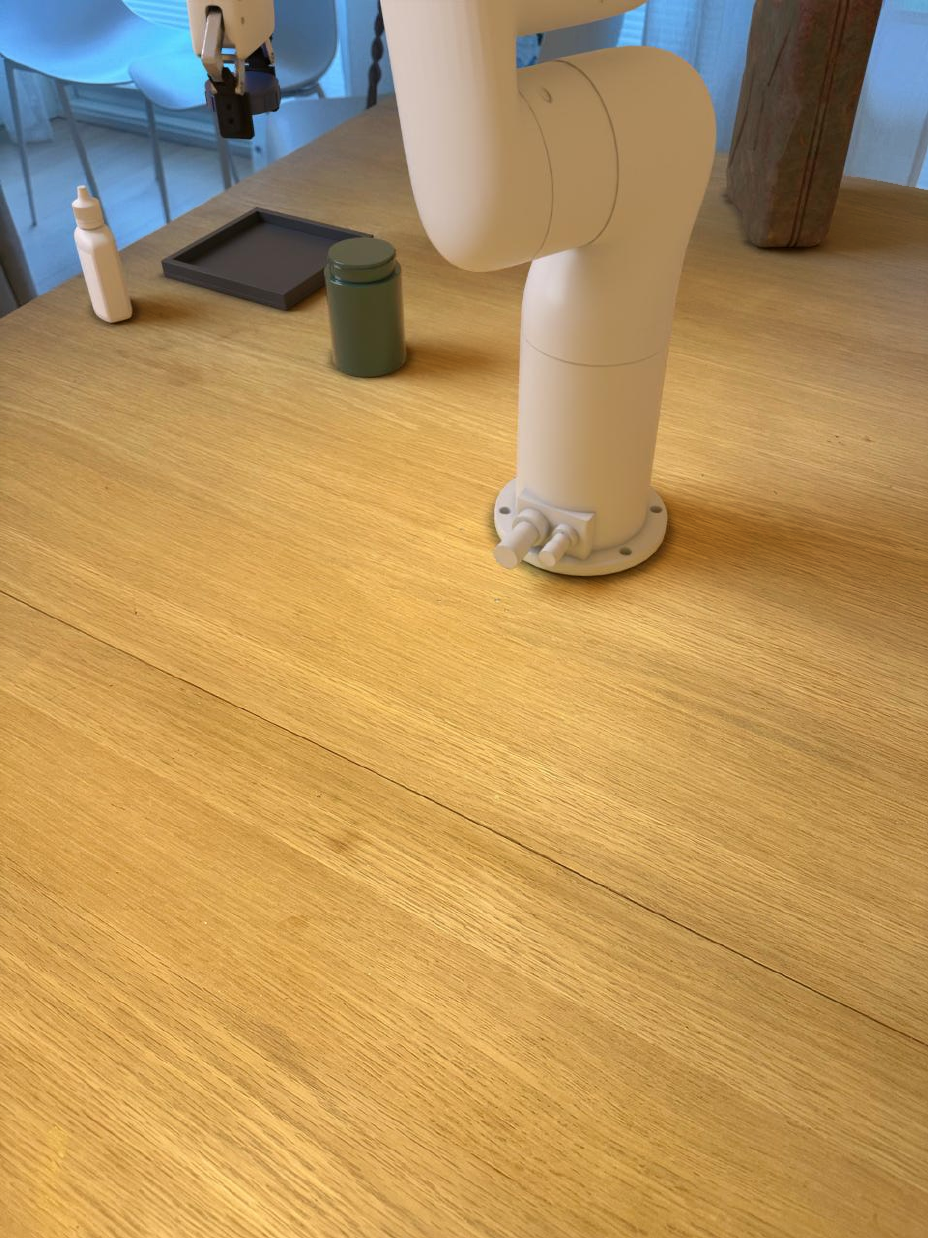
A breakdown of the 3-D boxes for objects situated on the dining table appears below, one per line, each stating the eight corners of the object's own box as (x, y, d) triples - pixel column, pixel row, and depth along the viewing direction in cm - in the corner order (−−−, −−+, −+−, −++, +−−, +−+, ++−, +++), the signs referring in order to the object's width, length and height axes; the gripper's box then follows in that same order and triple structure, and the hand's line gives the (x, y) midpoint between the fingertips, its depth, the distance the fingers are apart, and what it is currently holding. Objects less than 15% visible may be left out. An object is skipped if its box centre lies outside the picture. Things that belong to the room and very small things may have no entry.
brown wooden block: (831, 254, 110) (896, -19, 93) (751, 255, 110) (801, -18, 93) (788, 184, 124) (838, -65, 107) (717, 186, 124) (755, -63, 107)
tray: (286, 310, 102) (283, 294, 101) (164, 276, 108) (160, 260, 107) (374, 250, 112) (373, 234, 111) (258, 221, 118) (256, 206, 117)
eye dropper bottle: (83, 325, 101) (48, 199, 92) (97, 297, 105) (65, 175, 96) (129, 324, 101) (98, 198, 92) (141, 297, 105) (112, 174, 96)
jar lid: (285, 92, 102) (283, 70, 101) (275, 116, 97) (272, 94, 96) (215, 91, 102) (212, 70, 101) (201, 115, 97) (197, 93, 96)
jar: (396, 380, 93) (389, 270, 86) (324, 373, 94) (311, 264, 87) (413, 343, 97) (408, 237, 90) (344, 337, 98) (334, 231, 91)
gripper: (213, -119, 95) (243, 92, 107) (137, -79, 83) (180, 154, 95) (293, -117, 94) (314, 96, 106) (228, -77, 82) (260, 159, 94)
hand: (250, 121), depth 101 cm, fingers closed on jar lid, 6 cm apart
